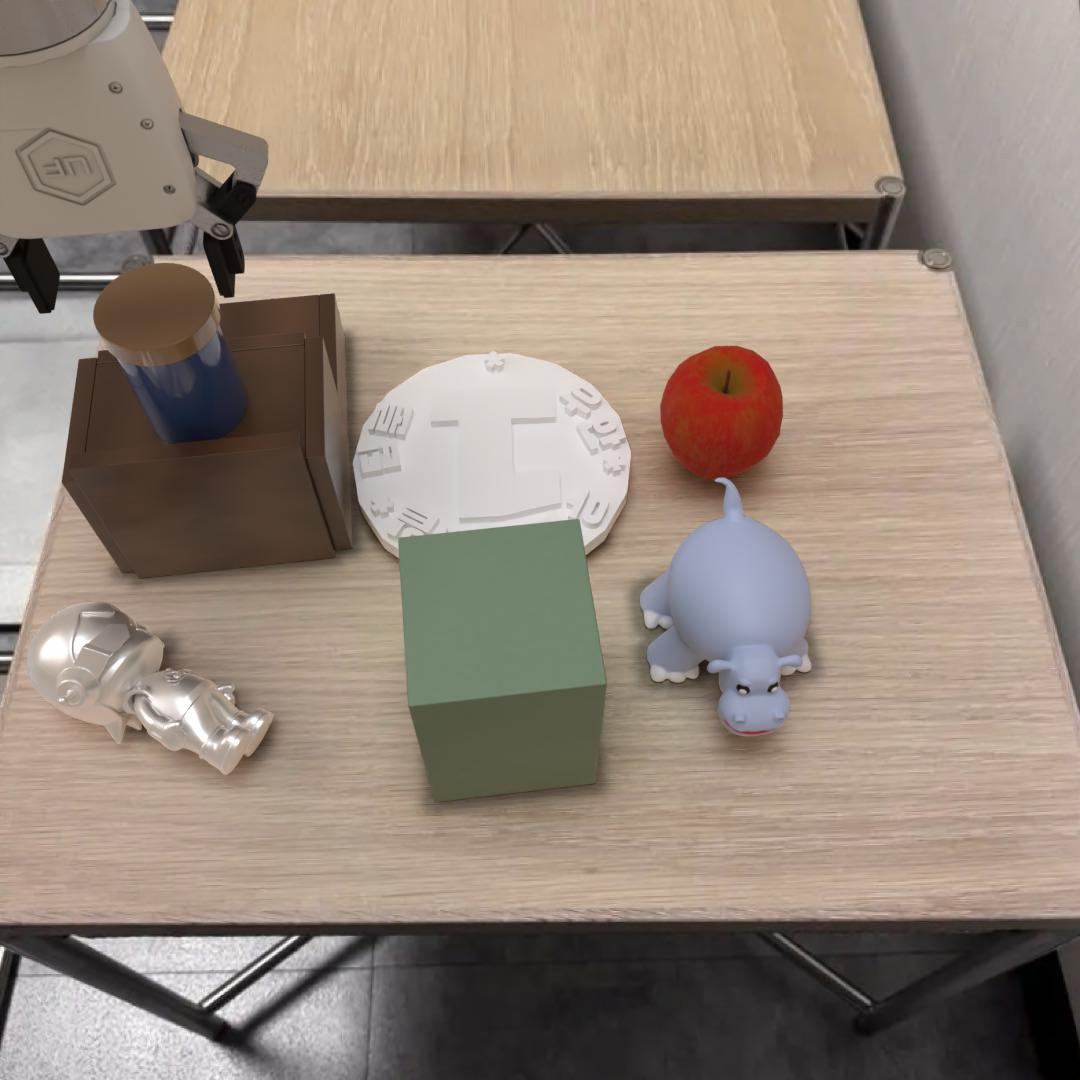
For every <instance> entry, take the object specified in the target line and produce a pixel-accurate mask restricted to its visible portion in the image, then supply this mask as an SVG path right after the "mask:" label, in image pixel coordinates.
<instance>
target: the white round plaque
mask: <svg viewBox="0 0 1080 1080" xmlns="http://www.w3.org/2000/svg"><path fill="white" fill-rule="evenodd" d="M626 435H627V434H626V433H625V429H624V427H623V423H622V420H621V417H620V414H618V412H616V410H615V409H614V408H613V407H612V406H611V404H610V403H609V402H608V401H607V400H606V398H605V397H604V396H603V395H602V394H601V392H600V391H598V389H597V388H596V387H595V386H594V384H592V383H590V382H588V381H587V380H586V379H583V378H581V376H579V375H576V374H575V373H573V372H572V371H569V370H568V369H566V368H564V367H562V366H561V365H559V364H558V363H555V362H551V361H547V360H543V359H539V358H534V357H530V356H527V355H522V354H518V353H513V352H508V353H507V352H504V353H498V351H497V350H496V351H489V353H478V354H475V353H474V354H465V355H462V356H459V357H455V358H451V359H449V360H445V361H443V362H440V363H436V364H433V365H431V366H430V365H429V366H427V367H423V368H422V369H421V370H419V371H418V372H416V373H415V374H413V375H412V376H411V377H409V378H407V379H406V380H404V381H402V383H400V384H398V385H396V386H395V387H394V388H393V389H391V390H389V391H388V392H387V393H386V394H385V396H384V397H383V398H382V400H381V401H380V402H376V405H375V409H374V410H373V411H372V413H371V414H370V415H369V417H368V418H367V419H366V421H365V422H364V423H363V425H362V428H361V432H360V436H359V439H358V442H357V444H356V450H355V453H354V457H353V461H352V467H353V468H352V469H353V473H354V480H355V485H356V486H355V487H356V495H357V500H358V504H359V508H360V509H359V510H360V512H361V515H362V516H363V518H364V520H365V521H366V523H367V524H368V525H369V527H370V529H371V530H372V532H373V533H374V534H375V536H376V537H377V539H378V541H379V543H380V544H381V545H382V547H383V548H384V550H386V551H387V552H389V553H390V554H391V555H393V556H394V557H396V558H397V559H399V547H398V538H400V537H410V536H419V535H429V534H439V533H448V532H458V531H467V530H477V529H486V528H496V527H505V526H515V525H524V524H534V523H543V522H553V521H563V520H572V519H579V520H580V525H581V531H582V537H583V543H584V549H585V554H586V556H587V555H588V554H590V553H591V552H592V551H593V550H595V549H596V548H597V547H598V546H600V545H601V544H602V543H603V542H605V540H606V539H607V537H608V535H609V533H610V532H611V530H612V528H613V526H614V525H615V523H616V522H617V519H618V518H619V517H620V514H621V513H622V511H623V510H624V508H625V506H626V503H627V497H628V496H627V495H628V488H629V487H628V486H629V477H630V469H631V460H632V451H631V447H630V445H629V441H628V439H627V436H626Z"/></svg>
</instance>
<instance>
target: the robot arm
mask: <svg viewBox="0 0 1080 1080" xmlns="http://www.w3.org/2000/svg"><path fill="white" fill-rule="evenodd" d="M136 7H137V6H135V4H134V3H133V1H132V0H0V259H2V260H3V261H4V263H5V265H6V267H7V268H8V270H9V272H10V275H11V276H12V278H13V280H14V281H15V283H16V285H17V287H18V289H19V290H20V291H21V292H22V293H28V295H29V297H30V299H31V301H32V303H33V304H34V306H35V308H36V310H37V312H38V313H39V314H40V315H43V314H51V313H52V311H55V309H56V304H57V303H56V302H57V297H58V290H59V286H60V280H61V273H60V270H59V268H58V267H57V264H56V261H54V258H53V256H52V254H51V252H50V250H49V248H48V246H47V245H46V243H45V241H44V239H49V238H63V237H76V236H89V235H90V236H91V235H102V234H114V233H115V234H116V233H126V232H138V231H148V230H149V231H151V230H160V229H167V228H171V227H172V228H173V227H176V226H180V225H182V224H185V223H187V222H189V223H191V224H192V225H194V226H195V227H197V228H198V229H200V230H201V231H203V233H202V234H203V235H202V247H203V251H204V253H205V256H206V259H207V262H208V265H209V269H210V271H211V274H212V277H213V280H214V282H215V286H216V288H217V291H218V294H219V297H223V298H224V299H229V298H235V293H236V292H235V291H236V275H240V274H245V271H246V269H245V268H246V262H245V261H246V260H245V253H244V250H243V246H242V243H241V239H240V237H239V233H238V230H237V227H236V225H237V224H238V223H239V222H240V220H241V219H242V218H243V217H244V216H245V214H247V212H249V211H250V209H251V208H252V207H253V206H254V205H255V203H256V201H257V194H258V192H259V189H260V187H261V185H262V182H263V179H264V177H265V173H266V170H267V168H268V165H269V147H270V146H269V143H268V142H267V140H266V139H265V138H263V137H260V136H257V135H254V134H251V133H248V132H245V131H242V130H239V129H236V128H234V127H230V126H227V125H224V124H221V123H217V122H216V121H211V120H208V119H205V118H202V117H199V116H196V115H193V114H190V113H187V112H186V110H185V108H184V105H183V103H182V100H181V97H180V95H179V92H178V90H177V88H176V85H175V82H174V81H173V79H172V76H171V74H170V72H169V70H168V67H167V64H166V63H165V60H164V58H163V57H162V54H161V53H160V51H159V48H158V47H157V44H156V42H155V40H154V39H153V36H152V34H151V33H150V31H149V29H148V27H147V25H146V23H145V21H144V20H143V18H142V16H141V14H140V13H139V10H138V9H137V8H136ZM200 156H201V157H203V158H204V157H205V158H208V159H211V160H214V161H217V162H220V163H223V164H227V165H230V166H232V167H233V168H234V170H233V171H232V172H231V173H230V175H229V176H228V177H227V178H226V180H224V182H223V183H222V182H221V181H220V180H218V179H216V178H215V177H213V176H212V175H211V174H209V173H207V172H206V171H204V170H203V169H202V168H200V167H198V165H199V163H200Z"/></svg>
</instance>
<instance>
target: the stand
mask: <svg viewBox="0 0 1080 1080" xmlns="http://www.w3.org/2000/svg"><path fill="white" fill-rule="evenodd" d="M398 547H399V558H398V563H399V579H400V595H401V611H402V626H403V628H402V629H403V644H404V645H403V646H404V660H405V661H404V662H405V677H406V693H407V695H406V696H407V707H408V711H409V714H410V718H411V722H412V726H413V728H414V732H415V735H416V739H417V743H418V748H419V750H420V754H421V758H422V762H423V765H424V768H425V773H426V775H427V779H428V783H429V786H430V790H431V793H432V797H433V801H434V803H444V802H451V801H459V800H468V799H477V798H485V797H495V796H500V795H508V794H509V795H510V794H517V793H518V794H519V793H526V792H527V793H528V792H536V791H543V790H552V789H558V788H559V789H560V788H568V787H574V786H575V787H577V786H584V785H585V786H586V785H593V784H596V781H597V773H598V764H599V754H600V747H601V738H602V730H603V721H604V712H605V706H606V705H605V704H606V697H607V686H608V679H607V674H606V667H605V663H604V657H603V651H602V645H601V644H602V643H601V639H600V632H599V627H598V621H597V615H596V610H595V609H596V608H595V602H594V596H593V590H592V586H591V585H592V584H591V579H590V573H589V567H588V560H587V555H586V554H585V549H584V543H583V537H582V531H581V525H580V520H579V519H572V520H563V521H553V522H543V523H534V524H524V525H515V526H505V527H496V528H486V529H477V530H467V531H458V532H448V533H439V534H429V535H419V536H410V537H400V538H398Z"/></svg>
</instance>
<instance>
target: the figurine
mask: <svg viewBox="0 0 1080 1080" xmlns="http://www.w3.org/2000/svg"><path fill="white" fill-rule="evenodd" d="M165 647H166V644H165V643H164V642H163V641H162V640H161V638H160V637H159V636H157V635H155V634H153V633H150V632H149V629H148V628H147V627H145V626H143V625H142V624H140V622H135V620H134V619H133V618H132V617H130V616H129V615H128V614H127V613H125V612H124V611H122V609H120V608H119V607H117V606H116V605H113V604H111V603H109V602H106V601H103V600H93V601H92V600H89V601H83V602H79V603H73V604H71V605H69V606H66V607H64V608H61V609H60V610H58V611H57V612H55V613H54V614H52V615H51V616H50V617H49V618H47V620H45V621H44V623H42V625H41V626H40V627H39V628H38V630H37V631H36V632H35V633H34V635H33V637H32V639H31V640H30V642H29V645H28V649H27V653H26V671H27V674H28V678H29V681H30V683H31V685H32V686H33V688H34V690H35V691H36V692H37V693H38V694H39V695H40V697H41V698H42V699H44V700H45V701H46V702H47V703H48V704H49V705H51V706H52V707H54V708H55V709H57V710H58V711H60V712H61V713H63V714H65V715H67V716H69V717H71V718H73V719H76V720H79V721H82V722H85V723H89V724H92V725H98V726H103V727H104V728H105V729H106V731H107V732H108V734H109V735H110V736H111V738H112V739H113V741H114V742H115V743H116V744H117V745H120V744H121V743H122V742H123V739H124V734H125V731H126V728H127V726H128V727H130V728H132V729H134V730H137V731H141V730H142V729H143V727H144V728H145V730H146V731H147V734H148V735H149V736H150V737H152V738H153V739H155V740H156V741H157V742H159V743H160V744H161V745H162V746H163V747H165V748H166V749H168V750H169V751H171V752H178V751H179V750H182V749H183V750H184V749H185V750H188V751H191V752H192V753H195V754H197V755H198V758H199V759H200V760H204V761H206V762H207V763H208V764H209V765H211V766H212V767H214V768H215V769H217V770H218V771H219V772H220V773H221V774H222V775H224V776H228V775H229V774H231V773H232V772H233V771H234V769H235V768H236V767H237V766H238V764H239V763H240V761H241V759H242V757H243V756H246V757H247V758H248V757H250V756H252V754H254V753H255V751H256V750H257V749H258V747H259V746H260V744H261V743H262V741H263V739H264V738H265V736H266V734H267V732H268V730H269V728H270V726H271V724H272V721H273V720H274V717H275V715H274V713H273V712H271V711H270V710H266V709H264V708H261V707H257V708H255V709H254V710H253V711H252V712H251V713H247V712H245V711H244V710H241V709H239V708H238V707H236V697H235V695H234V693H233V692H234V691H235V689H236V685H234V684H233V683H232V682H231V683H224V684H221V685H219V684H217V683H215V682H214V681H212V680H211V679H210V678H204V677H202V676H199V675H197V674H194V673H193V672H192V670H191V669H189V668H183V669H179V670H175V668H173V667H168V668H165V669H164V670H160V669H161V666H162V663H163V657H164V650H165ZM183 671H184V672H183ZM185 671H187V672H185Z"/></svg>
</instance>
